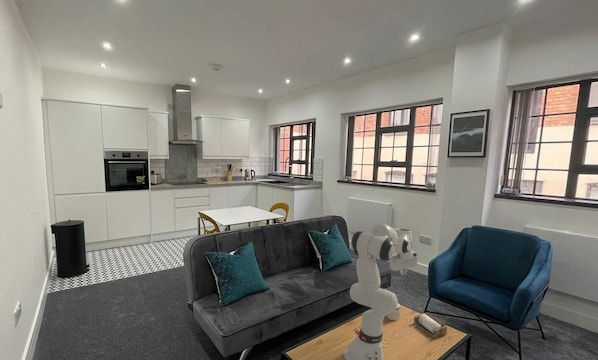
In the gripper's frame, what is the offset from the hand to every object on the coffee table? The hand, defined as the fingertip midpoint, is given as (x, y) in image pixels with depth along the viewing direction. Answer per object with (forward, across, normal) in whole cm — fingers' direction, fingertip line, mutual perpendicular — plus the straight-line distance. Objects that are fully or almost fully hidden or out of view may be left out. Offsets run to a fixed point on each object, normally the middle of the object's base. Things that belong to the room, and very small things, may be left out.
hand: (403, 274), depth 182 cm
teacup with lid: (+34, +2, +10) cm, 36 cm away
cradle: (+34, +14, -11) cm, 38 cm away
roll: (+31, +14, -11) cm, 35 cm away
